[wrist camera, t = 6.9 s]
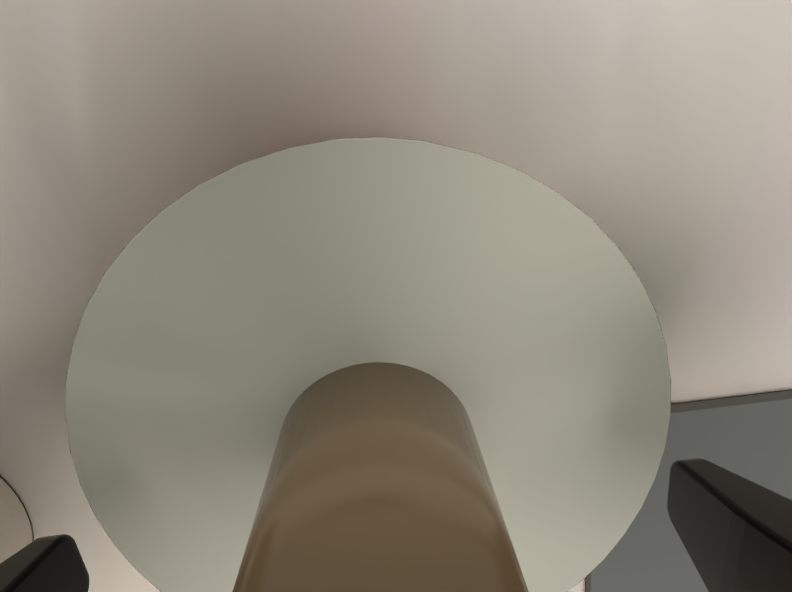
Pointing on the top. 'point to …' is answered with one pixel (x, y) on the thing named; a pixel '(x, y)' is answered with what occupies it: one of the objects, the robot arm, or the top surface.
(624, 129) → the top surface
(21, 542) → the coffee cup
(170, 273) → the lid
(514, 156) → the top surface
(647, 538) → the mat
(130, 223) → the top surface
